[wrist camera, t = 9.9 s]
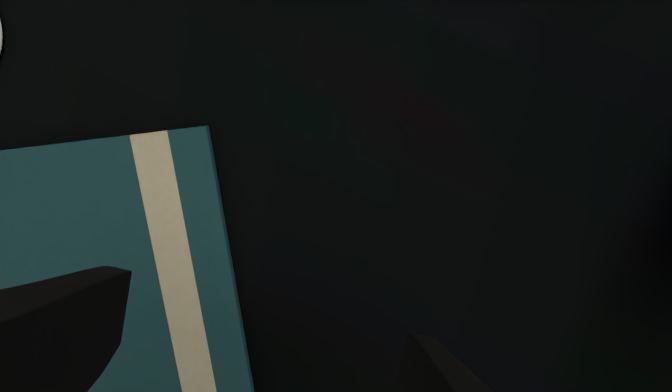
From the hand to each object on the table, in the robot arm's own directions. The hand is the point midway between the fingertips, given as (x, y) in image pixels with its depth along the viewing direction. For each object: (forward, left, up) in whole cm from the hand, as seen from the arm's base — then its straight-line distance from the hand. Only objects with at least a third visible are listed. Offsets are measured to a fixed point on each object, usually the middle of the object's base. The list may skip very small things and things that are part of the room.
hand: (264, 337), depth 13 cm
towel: (-1, +13, -9) cm, 16 cm away
